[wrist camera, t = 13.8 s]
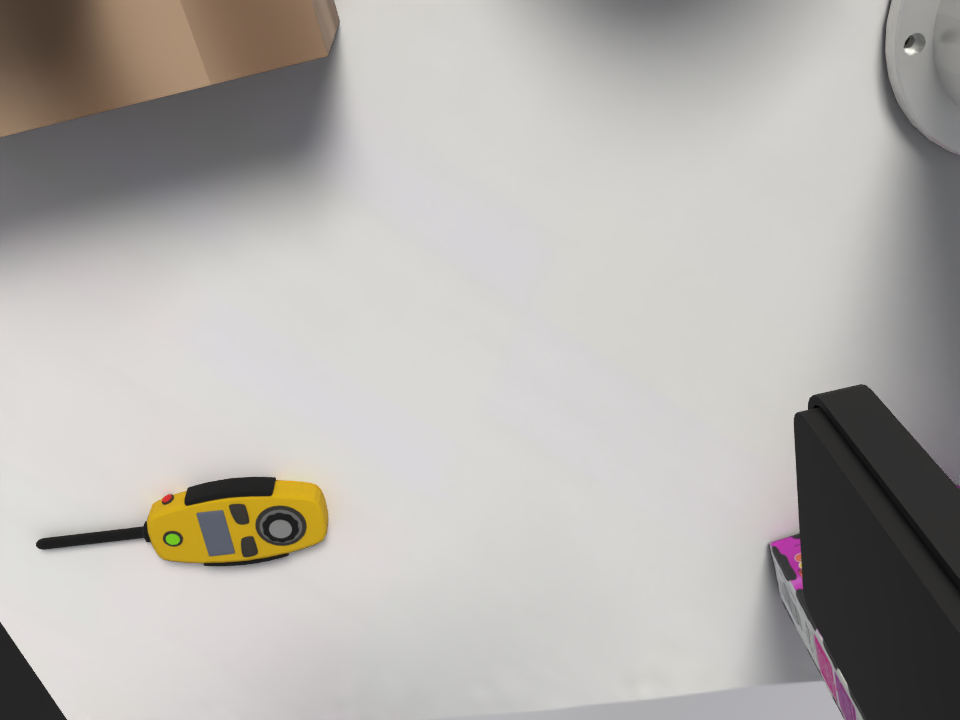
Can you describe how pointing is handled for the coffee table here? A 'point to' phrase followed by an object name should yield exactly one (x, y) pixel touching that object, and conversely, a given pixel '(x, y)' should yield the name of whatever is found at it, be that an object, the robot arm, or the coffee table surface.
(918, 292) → the coffee table surface
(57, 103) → the socket block
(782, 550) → the candy bar box
